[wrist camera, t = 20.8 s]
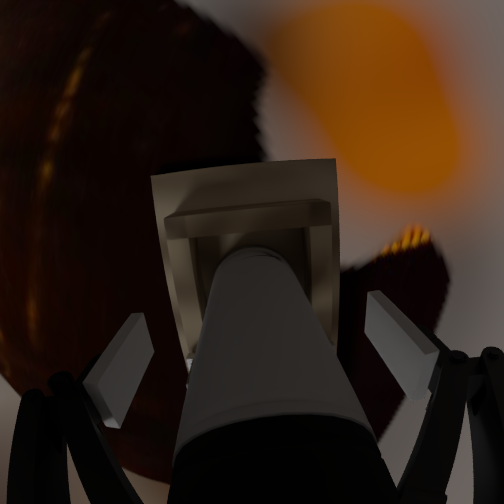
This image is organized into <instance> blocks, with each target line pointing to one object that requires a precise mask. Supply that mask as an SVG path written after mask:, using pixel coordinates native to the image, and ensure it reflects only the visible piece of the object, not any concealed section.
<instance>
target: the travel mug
mask: <svg viewBox="0 0 504 504" xmlns="http://www.w3.org/2000/svg"><path fill="white" fill-rule="evenodd" d="M172 466H173V471H172V477H171V479H172V483H171V485H170V489H169V494H168V500H167V504H400V502H399V500H400V496H399V493H398V491H397V489H396V486H395V484H394V482H393V479H392V477H391V475H390V473H389V470H388V468H387V466H386V464H385V462H384V459H382V458H381V453H380V450H379V448H378V446H377V439H376V437H375V435H374V432H373V430H372V428H371V426H370V424H369V423H368V420H367V418H366V415H365V413H364V411H363V409H362V407H361V405H360V403H359V401H358V398H357V396H356V394H355V392H354V390H353V388H352V386H351V384H350V382H349V380H348V378H347V376H346V374H345V372H344V370H343V368H342V366H341V364H340V362H339V360H338V358H337V356H336V354H335V352H334V350H333V348H332V346H331V344H330V342H329V340H328V338H327V336H326V334H325V332H324V330H323V328H322V326H321V324H320V322H319V320H318V318H317V316H316V314H315V312H314V310H313V308H312V306H311V305H310V303H309V301H308V299H307V297H306V295H305V293H304V291H303V289H302V287H301V285H300V283H299V282H298V280H297V278H296V276H295V274H294V272H293V270H292V268H291V266H290V265H289V263H288V261H287V260H286V259H285V257H284V256H283V255H282V254H280V253H279V252H278V251H277V250H275V249H273V248H271V247H268V246H264V245H258V244H251V245H244V246H241V247H238V248H236V249H234V250H232V251H231V252H229V253H228V254H227V255H226V256H225V257H224V258H223V259H222V260H221V261H220V263H219V265H218V267H217V269H216V272H215V275H214V279H213V283H212V287H211V291H210V295H209V299H208V303H207V307H206V311H205V315H204V319H203V324H202V328H201V332H200V336H199V340H198V345H197V349H196V353H195V357H194V362H193V366H192V371H191V375H190V379H189V384H188V389H187V393H186V398H185V402H184V407H183V412H182V416H181V421H180V426H179V431H178V436H177V441H176V447H175V451H174V456H173V461H172Z"/></svg>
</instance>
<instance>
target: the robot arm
mask: <svg viewBox="0 0 504 504" xmlns="http://www.w3.org/2000/svg"><path fill="white" fill-rule="evenodd" d="M365 334H366V335H367V337H368V338H369V339H370V341H371V342H372V344H373V345H374V347H375V348H376V350H377V351H378V353H379V354H380V356H381V357H382V359H383V360H384V362H385V363H386V365H387V366H388V368H389V369H390V371H391V372H392V374H393V375H394V377H395V378H396V380H397V381H398V383H399V384H400V386H401V387H402V389H403V391H404V392H405V394H406V395H407V397H408V398H409V400H410V401H411V402H414V401H417V400H420V399H423V398H425V395H426V392H427V389H429V390H430V392H431V393H432V394H431V397H430V400H429V403H428V405H427V407H426V414H425V417H424V420H423V423H422V426H421V429H420V432H419V435H418V438H417V440H416V443H415V446H414V448H413V451H412V454H411V456H410V459H409V461H408V463H407V466H406V468H405V470H404V473H403V475H402V477H401V480H400V482H399V484H398V486H397V488H396V489H397V491H398V493H399V496H400V500H399V502H400V504H446V501H447V495H446V494H445V491H446V487H447V484H448V481H449V478H450V475H451V471H452V468H453V464H454V460H455V456H456V452H457V448H458V443H459V439H460V434H461V429H462V423H463V418H464V411H465V404H466V402H467V408H468V415H469V422H470V431H471V440H472V451H473V473H474V498H473V504H504V353H503V352H502V350H500V349H499V348H496V347H486V348H484V349H483V351H482V353H481V356H480V357H473V358H469V357H468V355H467V354H465V353H464V352H462V351H458V350H453V351H451V350H450V349H449V348H448V347H447V346H446V345H445V344H444V343H443V342H442V341H441V340H440V339H438V338H437V336H436V335H435V334H433V332H432V331H430V330H429V329H428V328H427V327H425V326H423V325H421V324H418V325H414V324H413V323H412V322H411V321H410V320H409V319H408V318H407V317H406V316H405V315H404V314H403V313H402V312H401V311H400V310H399V309H398V308H397V307H396V306H395V305H394V304H393V303H392V302H391V301H390V300H389V299H388V298H387V297H386V296H385V295H384V294H383V293H382V292H381V291H380V290H377V291H371V292H368V296H367V310H366V321H365ZM153 353H154V349H153V346H152V343H151V339H150V336H149V332H148V329H147V325H146V321H145V318H144V314H143V313H132V314H131V315H130V316H129V318H128V319H127V320H126V322H125V323H124V324H123V326H122V327H121V329H120V330H119V331H118V333H117V334H116V335H115V337H114V338H113V340H112V341H111V342H110V344H109V345H108V347H107V348H106V349H105V351H104V352H103V354H98V355H96V356H95V357H94V358H92V359H91V360H90V362H89V363H88V364H87V367H85V369H84V371H82V373H81V374H80V376H79V377H78V378H77V380H76V381H75V380H74V378H73V376H72V374H71V373H70V372H68V371H61V372H57V373H55V374H53V375H52V376H51V377H50V378H49V379H48V383H47V384H48V386H49V388H50V390H51V391H52V393H53V395H54V396H49V397H45V396H44V394H43V392H42V391H41V390H39V389H31V390H28V391H26V392H25V393H24V394H23V396H22V398H21V402H20V406H19V410H18V415H17V419H16V424H15V429H14V435H13V441H12V447H11V454H10V463H9V471H8V484H7V504H71V502H70V493H69V482H68V469H67V444H68V447H69V450H70V453H71V456H72V459H73V462H74V465H75V467H76V470H77V473H78V475H79V478H80V480H81V483H82V485H83V488H84V490H85V492H86V495H87V497H88V499H89V501H90V503H91V504H144V503H143V502H142V500H141V499H140V497H139V496H138V494H137V493H136V491H135V489H134V488H133V487H132V485H131V483H130V481H129V480H128V478H127V477H126V475H125V473H124V471H123V470H122V468H121V466H120V464H119V462H118V461H117V459H116V457H115V455H114V453H113V451H112V449H111V447H110V445H109V443H108V441H107V439H106V437H105V435H104V433H103V431H102V429H101V427H100V425H99V422H100V420H101V418H102V420H103V422H104V424H105V425H106V426H108V427H114V428H120V427H121V425H122V422H123V420H124V418H125V415H126V413H127V411H128V408H129V406H130V404H131V401H132V399H133V397H134V395H135V392H136V390H137V388H138V386H139V383H140V381H141V379H142V377H143V375H144V372H145V370H146V368H147V366H148V364H149V362H150V359H151V357H152V355H153Z"/></svg>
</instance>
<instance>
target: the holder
mask: <svg viewBox="0 0 504 504" xmlns="http://www.w3.org/2000/svg"><path fill="white" fill-rule="evenodd" d="M151 181H152V189H153V197H154V205H155V213H156V220H157V226H158V233H159V239H160V245H161V251H162V257H163V263H164V268H165V273H166V279H167V284H168V289H169V294H170V299H171V303H172V308H173V312H174V317H175V321H176V326H177V330H178V334H179V338H180V342H181V346H182V350H183V354H184V358H185V362H186V366H187V369H188V373H189V368H188V364H187V360H186V358H187V355H188V353H196V349H197V345H198V340H199V336H200V332H201V328H202V324H203V319H204V315H205V311H206V307H207V303H208V299H209V295H210V291H211V287H212V283H213V279H214V275H215V272H216V269H217V267H218V265H219V263H220V261H221V260H222V259H223V258H224V257H225V256H226V255H227V254H228V253H229V252H231V251H232V250H234V249H236V248H238V247H241V246H244V245H251V244H258V245H264V246H268V247H271V248H273V249H275V250H277V251H278V252H279V253H280V254H282V255H283V256H284V257H285V259H286V260H287V261H288V263H289V265H290V266H291V268H292V270H293V272H294V274H295V276H296V278H297V280H298V282H299V283H300V285H301V287H302V289H303V291H304V293H305V295H306V297H307V299H308V301H309V303H310V305H311V306H312V308H313V310H314V312H315V314H316V316H317V318H318V320H319V322H320V324H321V326H322V328H323V330H324V332H325V334H326V336H327V338H328V340H333V342H334V344H335V354H337V339H338V320H339V288H340V238H339V208H338V207H339V206H338V187H337V172H336V159H307V160H288V161H273V162H260V163H249V164H238V165H229V166H220V167H211V168H203V169H195V170H188V171H181V172H174V173H168V174H162V175H155V176H151Z"/></svg>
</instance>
